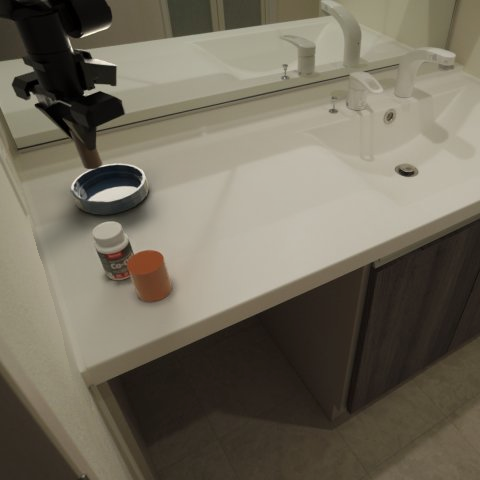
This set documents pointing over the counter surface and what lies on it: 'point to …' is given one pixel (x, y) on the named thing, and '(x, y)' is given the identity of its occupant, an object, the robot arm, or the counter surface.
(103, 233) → the pill bottle
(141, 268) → the orange cylinder cap
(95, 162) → the brown cylinder
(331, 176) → the counter surface
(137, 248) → the counter surface
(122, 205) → the bowl
